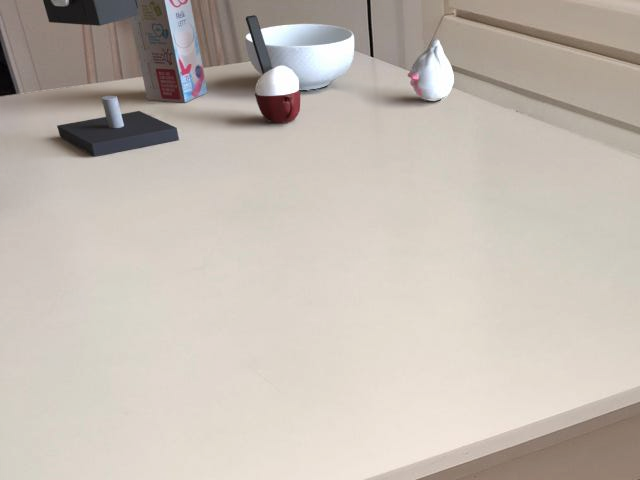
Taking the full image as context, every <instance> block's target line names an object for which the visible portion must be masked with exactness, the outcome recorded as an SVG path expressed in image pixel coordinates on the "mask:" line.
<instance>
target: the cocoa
mask: <svg viewBox="0 0 640 480" xmlns="http://www.w3.org/2000/svg"><path fill="white" fill-rule="evenodd" d="M245 22H246V24H247V28H248V32H249V33H250V35H251V38H252V41H253V44H254V48H255V51H256V54H257V58H258V61H259V64H260V67H261V71H262V74H263V75H261V76H260V77H259V78H258V80H257V82H256V84H255V88H254V90H255V93H254V96H255V100H256V104H257V107H258V108H259V111H260V113H261V115H262V116H263V118H264V119H265V120H267V121H268V122H270V123H274V124H276V123H277V124H280V123H281V124H282V123H289V122H291V121H294V120H295V119H296V118H297V117H298V116H299V113H300V110H301V91H299V82H298V77H297V76H296V75H295V74H294V73H293V71H292V70H291V69H289V68H287V67H286V66H277V67H275V68H272V65H271V62H270V58H269V55H268V52H267V48H266V45H265V42H264V39H263V35H262V32H261V29H262V28H261V26H260V23H259V19H258V17H257V15H255V14H254V15H247V16H246V17H245Z"/></svg>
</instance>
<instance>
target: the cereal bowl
mask: <svg viewBox="0 0 640 480" xmlns="http://www.w3.org/2000/svg"><path fill="white" fill-rule="evenodd" d="M260 29H261V32H262V35H263V39H264V42H265V45H266V48H267V52H268V55H269V58H270V62H271V65H272V68H275V67H277V66H286V67H287V68H289V69H291V70H292V71H293V73H294V74H295V75H296V76H297V77H298V82H299V89H301V90H306V89H316V88H320V87H324V86H326V85H328V84H329V85H331V83H332V82H333V81H335V80H337V79H339V78H340V77H342V76H343V75H345V74H346V73H347V71H349V69H350V67H351V66H352V63H353V60H354V56H355V35H354V33H353V31H352V30H350V29H347V28H345V27H341V26H338V25H330V24H322V23H321V24H319V23H297V24H296V23H293V24H282V25H274V26H273V25H272V26H268V27H264V28H260ZM244 41H245V48H246V51H247V56H248V59H249V60H250V63H251V65H252V66H253V68H254V69H255V71H256V72H257V73H258V74H259V75H261V76H262V75H263V74H262V71H261V67H260V64H259V61H258V58H257V54H256V51H255V48H254V44H253V41H252V38H251V35H250V32H249V33H247V34H246V35H245V37H244ZM329 85H328V86H329ZM316 90H317V89H316Z"/></svg>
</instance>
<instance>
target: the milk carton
mask: <svg viewBox="0 0 640 480" xmlns="http://www.w3.org/2000/svg"><path fill="white" fill-rule="evenodd" d="M135 1H136V6H137V10H138V15H137V16H133V17H130V18H128V20H129V24H130V28H131V31H132V37H133V41H134V45H135V50H136V53H137V58H138V64H139V67H140V71H141V75H142V76H141V77H142V80H143V85H144V89H145V93H146V97H147V98H146V99H147V101H156V102H157V101H158V102H171V103H184V104H186V103H187V102H190V101H193V100H195V99H197V98H199V97H201V96H203V95H206V94H208V88H207V82H206V77H205V76H206V75H205V71H204V66H203V59H202V56H201V50H200V45H199V39H198V34H197V29H196V23H195V17H194V13H193V7H192V1H191V0H135Z"/></svg>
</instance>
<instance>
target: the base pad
mask: <svg viewBox="0 0 640 480" xmlns="http://www.w3.org/2000/svg"><path fill="white" fill-rule="evenodd" d="M101 102H102V106H103V111H104V114H105V116H103V117H96V118H91V119H86V120H81V121H74V122H70V123H63V124H58V125H56V127H57V131H58V134H59V138H60V139H62V140H64V141H66V142H67V143H70V144H72V145H73V146H75V147H77V148H78V149H80V150H82V151H84V152H86V153H88V154H90V155H91V156H93V157H99V156H104V155H110V154H115V153H119V152H120V153H121V152H124V151H125V152H126V151H129V150H134V149H141V148H145V147H150V146H155V145H159V144H164V143H170V142H174V141H179V140H180V137H179V132H178V127H176V126H174V125H171V124H169V123H168V122H165V121H163V120H160V119H158V118H156V117H154V116H151V115H149V114H147V113H145V112H142V111H141V110H136V111H130V112H124V113H122V111H121V108H120V103H119V100H118V96H116V95H104V96H102V97H101Z"/></svg>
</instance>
